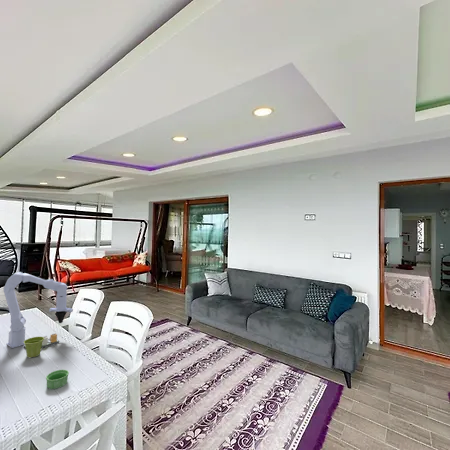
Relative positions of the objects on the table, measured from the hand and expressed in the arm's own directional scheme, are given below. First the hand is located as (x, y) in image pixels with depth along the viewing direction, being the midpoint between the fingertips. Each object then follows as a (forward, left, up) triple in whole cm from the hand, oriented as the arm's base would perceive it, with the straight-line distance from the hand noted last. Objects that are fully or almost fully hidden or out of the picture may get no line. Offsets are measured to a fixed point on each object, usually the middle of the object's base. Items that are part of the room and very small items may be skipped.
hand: (60, 322), depth 173 cm
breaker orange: (+6, -6, -9) cm, 12 cm away
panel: (+3, -12, -10) cm, 16 cm away
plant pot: (+13, -20, -10) cm, 26 cm away
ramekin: (+53, -25, -10) cm, 60 cm away
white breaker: (+6, -12, -9) cm, 15 cm away
